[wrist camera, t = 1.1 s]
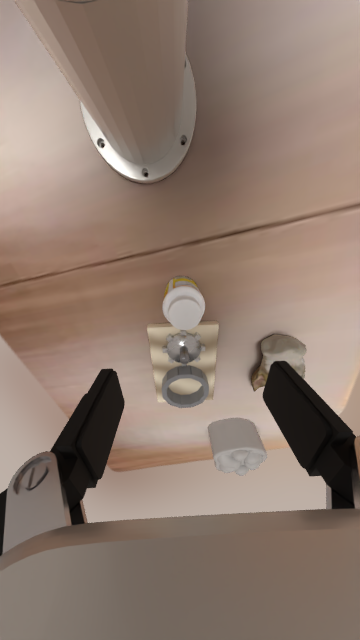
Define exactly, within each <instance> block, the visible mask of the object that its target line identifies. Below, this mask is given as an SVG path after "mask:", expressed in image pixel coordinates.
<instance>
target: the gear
mask: <svg viewBox="0 0 360 640" xmlns="http://www.w3.org/2000/svg"><path fill="white" fill-rule="evenodd" d="M200 338H201V336H200V334H199V333H197V332H196V333H195V334H194V335H193V334H191V333H186V330H180V333H178V334H175V335H172V334H170V333H169V334H168V335H167V336H166V340H167V341H168V343H167V345H164V346H163V347H162V350H163V353H167V354H168V356H169V357H168V362H170V363H171V364H172V363H173V362H174V361H175V362H178V363H182V366H187V363H189V362H191V361H193V360H194V361H196V362H198V361H199V360H201V359H200V356H199V354H200V352H201V351H205V344H200V342H199V339H200Z"/></svg>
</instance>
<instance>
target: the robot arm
mask: <svg viewBox="0 0 360 640" xmlns="http://www.w3.org/2000/svg"><path fill="white" fill-rule="evenodd" d="M14 1H15V3H16V4H17V6H18V7H19V9H20V10H21V12H22V13H23V15H24V16H25V18H26V19H27V21H28V22H29V24H30V25H31V27H32V28H33V30H34V31H35V33H36V34H37V36H38V37H39V39H40V40H41V42H42V43H43V45H44V46H45V48H46V49H47V51H48V52H49V54H50V55H51V57H52V58H53V60H54V61H55V63H56V64H57V66H58V67H59V69H60V70H61V72H62V73H63V75H64V76H65V78H66V79H67V81H68V82H69V84H70V85H71V87H72V88H73V90H74V91H75V93H76V94H77V96H78V97H79V100H80V107H81V112H82V116H83V119H84V123H85V126H86V128H87V131H88V133H89V136H90V138H91V140H92V142H93V143H94V145H95V147H96V149H97V150H98V152H99V153H100V155H101V156H102V157H103V158H104V160H105V161H106V162H107V163H108V164H109V165H110V166H111V167H112V168H113V169H114V170H115V171H116V172H117V173H119V174H120V175H121V176H123V177H125V178H127V179H129V180H131V181H135V182H138V183H153V182H157V181H160V180H162V179H164V178H166V177H168V176H169V175H170V174H171V173H173V172H174V171H175V170H176V169H177V167H178V166H179V165H180V164H181V163H182V161H183V159H184V157H185V155H186V154H187V152H188V149H189V146H190V144H191V141H192V137H193V132H194V128H195V120H196V89H195V81H194V77H193V73H192V69H191V65H190V62H189V59H188V57H187V55H186V52H185V51H186V32H187V14H188V0H14ZM182 142H184V143H185V145H184V146H183V145H181V143H182ZM103 145H105V146H104V148H102V146H103ZM145 173H148V177H145ZM263 399H264V402H265V403H266V405H267V407H268V409H269V410H270V412H271V414H272V416H273V417H274V419H275V421H276V423H277V425H278V426H279V428H280V430H281V432H282V433H283V435H284V437H285V439H286V440H287V442H288V444H289V446H290V448H291V449H292V451H293V453H294V455H295V456H296V458H297V460H298V462H299V463H300V465H301V466H302V467H303V468H305V469H306V470H307V472H308V474H309V476H322V477H323V479H324V481H325V482H326V509H321V510H320V509H318V510H297V511H276V512H256V513H238V514H220V515H201V516H183V517H167V518H150V519H135V520H120V521H108V522H96V523H87V518H86V514H85V509H84V505H83V501H82V499H83V497H84V495H85V492H86V489H87V488H95V487H96V484H97V481H98V480H99V479H101V478H102V475H103V473H104V470H105V466H106V463H107V460H108V457H109V454H110V450H111V447H112V444H113V441H114V438H115V434H116V431H117V428H118V425H119V422H120V418H121V415H122V412H123V409H124V398H123V395H122V391H121V387H120V384H119V380H118V376H117V373H116V371H113V369H102V370H101V371H100V373H99V374H98V376H97V378H96V379H95V381H94V383H93V385H92V386H91V388H90V390H89V391H88V393H87V394H85V395H84V396H83V398H82V399H81V401H80V402H79V404H78V406H77V407H76V409H75V411H74V412H73V414H72V416H71V417H70V419H69V421H68V422H67V424H66V426H65V427H64V429H63V431H62V432H61V434H60V436H59V437H58V439H57V441H56V442H55V444H54V446H53V447H52V449H51V451H50V452H47V451H46V452H42V453H39V454H37V455H36V456H33V457H32V458H30V459H29V460H28V461H26V462H25V463H24V465H22V466H21V467H20V468H19V469H18V471H17V472H16V473H15V475H14V476H13V478H12V479H11V481H10V484H9V486H8V488H7V489H6V490H5V491H3V492H2V493H1V494H0V640H360V436H357V437H356V436H355V435H354V434H353V433H352V432H353V431H352V430H351V429H350V428H349V427H348V426H347V425H346V424H345V423H344V422H343V421H342V420H341V418H340V417H339V416H338V415H337V414H336V413H335V412H334V411H333V410H332V409H331V408H330V407H329V406H328V405H327V404H326V403H325V402H324V400H323V399H322V398H321V397H320V396H319V395H318V394H317V393H316V392H315V391H314V390H313V389H312V388H311V387H310V386H309V385H308V384H307V382H306V381H305V380H304V379H303V378H302V377H301V376H300V375H299V374H298V373H297V372H296V371H295V370H294V369H293V368H292V367H291V366H290V364H289V363H288V362H286V361H274V362H273V364H271V366H270V370H269V373H268V377H267V381H266V384H265V388H264V392H263Z"/></svg>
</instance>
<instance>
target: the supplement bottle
mask: <svg viewBox="0 0 360 640" xmlns="http://www.w3.org/2000/svg"><path fill="white" fill-rule="evenodd" d="M204 311H205V301H204V298H203V296H202V294H201V293H200V291H199V289H198V287H197V285H196V283H195V282H194V281H193V280H192V279H191V278H189V277H186V276H177V277H174V278H173V279H171V280H170V281H169V282H168V284H167V286H166V289H165V294H164V299H163V313H164V316H165V317H166V319H167V320H168V321H169V322H170V323H171V324H172V325H173V326H174V327H175V328H177V329H180V330H189V329H192V328H194V327H196V326H197V325H198V324H199V322H200V320H201V318H202V316H203V314H204Z"/></svg>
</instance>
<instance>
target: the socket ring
mask: <svg viewBox="0 0 360 640" xmlns="http://www.w3.org/2000/svg"><path fill="white" fill-rule="evenodd" d="M184 378H191V379H194V380H196V381H199V382H200V383H201V384H202V386H201V387H200V388H199V389H198V391H196V392H194V393H192V394H187V395H180V394H177V393H174V392H172V391H171V390H170V389H169V385H170V384H171V383H172V382H174V381H176V380H178V379H184ZM208 395H209V384H208V380H207V377H206V375H205V374H204V373H203V371H202V370H201V369H199V368H196V367H194V366H190V365H187V366H177V367H175V368H173V369H171V370H169V371H167V373H166V374H165V376H164V378H163V380H162V397H163V399H164V400H165V401H166V402H167V403H168V404H170V405H173V406H176V407H179V408H188V407H191V406H192V407H194V406H196V405H198V404H201V403H202V402H203V401H204V400H205V399H206V398H207V397H208Z"/></svg>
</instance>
